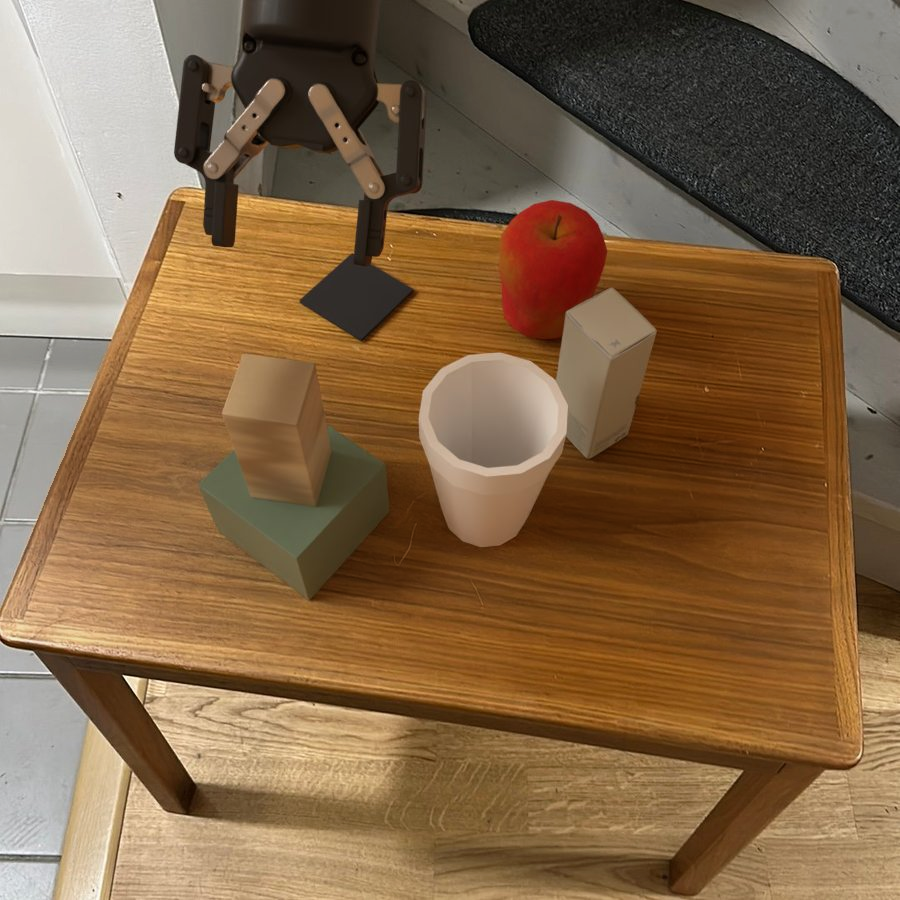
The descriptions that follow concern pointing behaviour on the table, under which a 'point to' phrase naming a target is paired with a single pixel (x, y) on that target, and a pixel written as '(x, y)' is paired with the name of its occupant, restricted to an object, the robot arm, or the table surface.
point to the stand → (302, 516)
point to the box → (602, 369)
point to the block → (278, 428)
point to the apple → (548, 266)
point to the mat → (356, 297)
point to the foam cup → (491, 442)
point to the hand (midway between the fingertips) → (292, 255)
